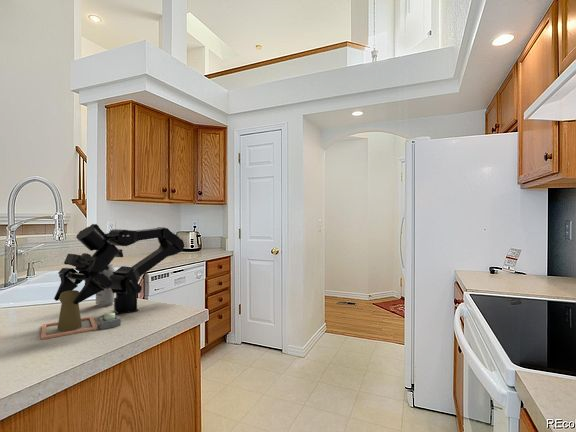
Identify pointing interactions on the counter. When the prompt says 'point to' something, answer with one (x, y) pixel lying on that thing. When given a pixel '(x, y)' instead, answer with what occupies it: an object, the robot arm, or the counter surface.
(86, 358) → the counter surface
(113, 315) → the button
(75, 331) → the terracotta outline
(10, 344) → the counter surface
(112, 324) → the button box
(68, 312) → the olive pepper mill
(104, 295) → the energy drink can
